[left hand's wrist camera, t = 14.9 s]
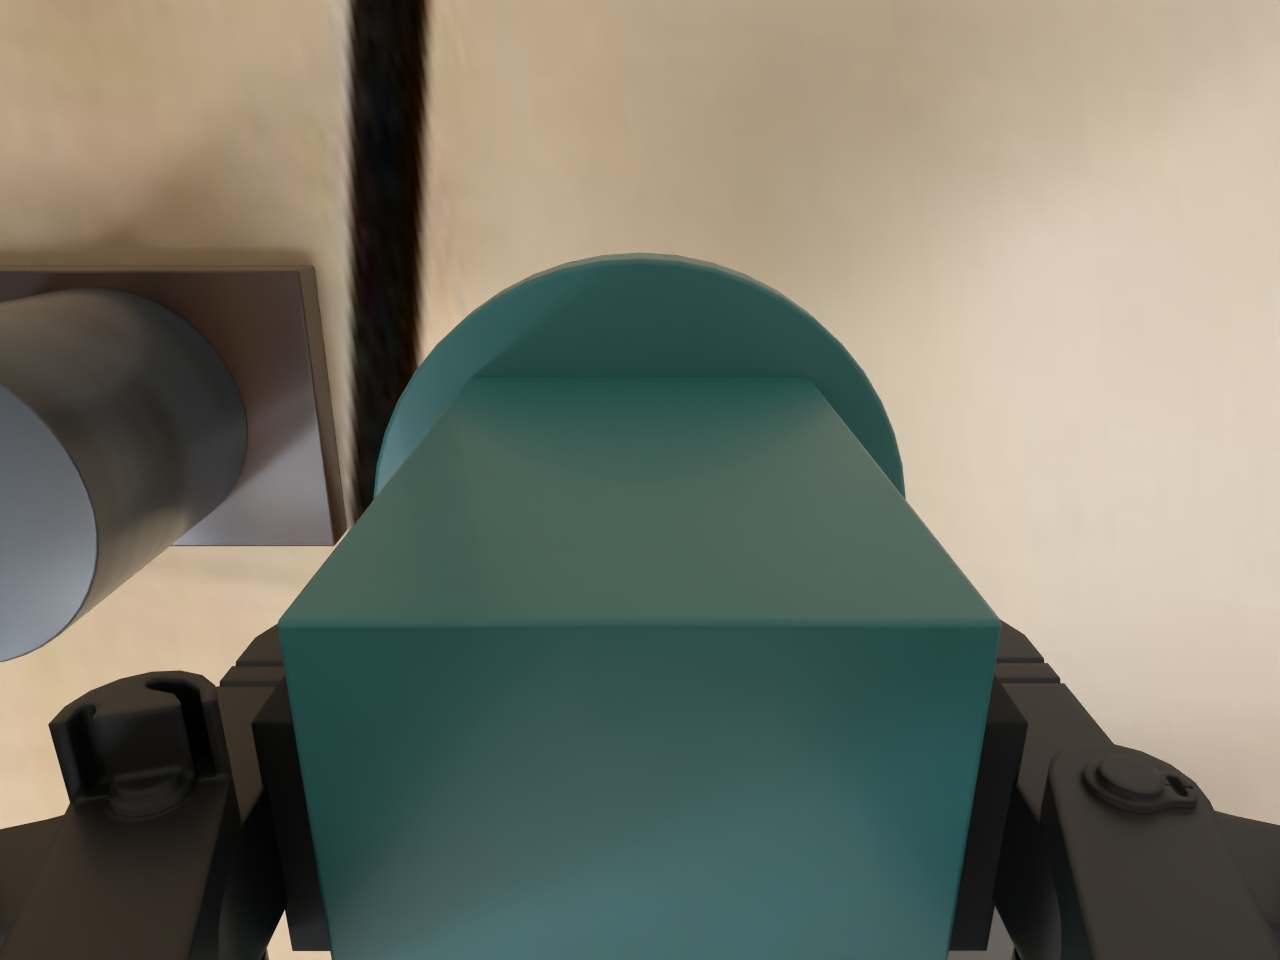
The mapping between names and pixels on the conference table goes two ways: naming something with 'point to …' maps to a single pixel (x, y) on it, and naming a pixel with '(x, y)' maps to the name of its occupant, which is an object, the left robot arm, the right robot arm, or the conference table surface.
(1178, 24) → the conference table surface
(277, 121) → the conference table surface
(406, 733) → the cap block
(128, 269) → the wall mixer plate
